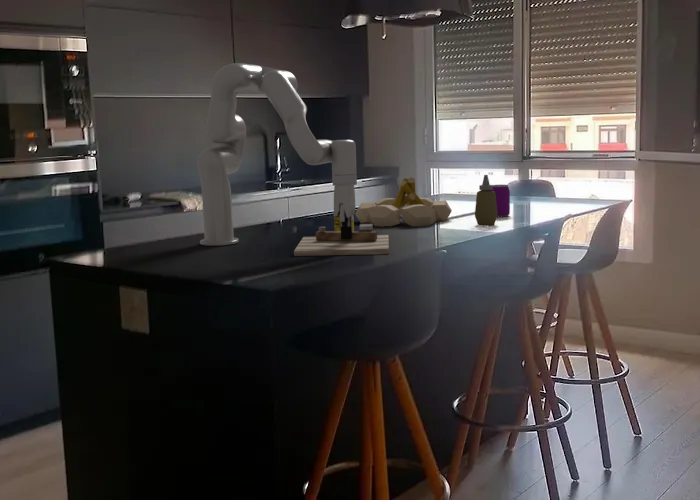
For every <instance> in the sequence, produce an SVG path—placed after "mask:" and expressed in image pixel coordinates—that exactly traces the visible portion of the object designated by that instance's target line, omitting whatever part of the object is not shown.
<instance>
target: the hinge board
mask: <svg viewBox="0 0 700 500" xmlns="http://www.w3.org/2000/svg"><path fill="white" fill-rule="evenodd" d="M373 225H374V224H373V223H360V224H359V231H374V229H373V227H374V226H373ZM318 231H327V230H326V226H319V227H318ZM389 238H390V237H389V234H377V240H376V241H346V240H324V241H318V240H316V236H303V237H302V239H301V240H300V242H299V243H298V244H297V246H296V247H295V249H294V251H293V257H306V256H307V257H309V256H347V255H351V256H352V255H355V256H356V255H358V256H359V255H389V251H390V250H389V249H390V248H389V243H390V242H389Z"/></svg>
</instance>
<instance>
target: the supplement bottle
mask: <svg viewBox="0 0 700 500" xmlns="http://www.w3.org/2000/svg"><path fill="white" fill-rule="evenodd" d="M354 215H355V214H354ZM354 215H352V231H355V224H354V223H355V222H354V221H355V219H354V217H355V216H354ZM333 222H334V223H333V225H334V226H333V229H334V230H333V231H341V224H340V216H339V217H337V218H335V217H334V216H333Z"/></svg>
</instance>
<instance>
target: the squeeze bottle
mask: <svg viewBox="0 0 700 500" xmlns="http://www.w3.org/2000/svg"><path fill="white" fill-rule="evenodd" d="M493 185H494V184H490V179H489V176H488V174H484V175H483V179H482V184H479V187H478V189H479V190H478V191H477V192H476V198H475V207H474V208H475V209H474V217H475V221H476V222H477V225H478V226H481V227H491V226H494V225H495V224H496V220H497V218H498V217H497V205H496V196H495V192H494V191H492V189H493Z"/></svg>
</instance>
